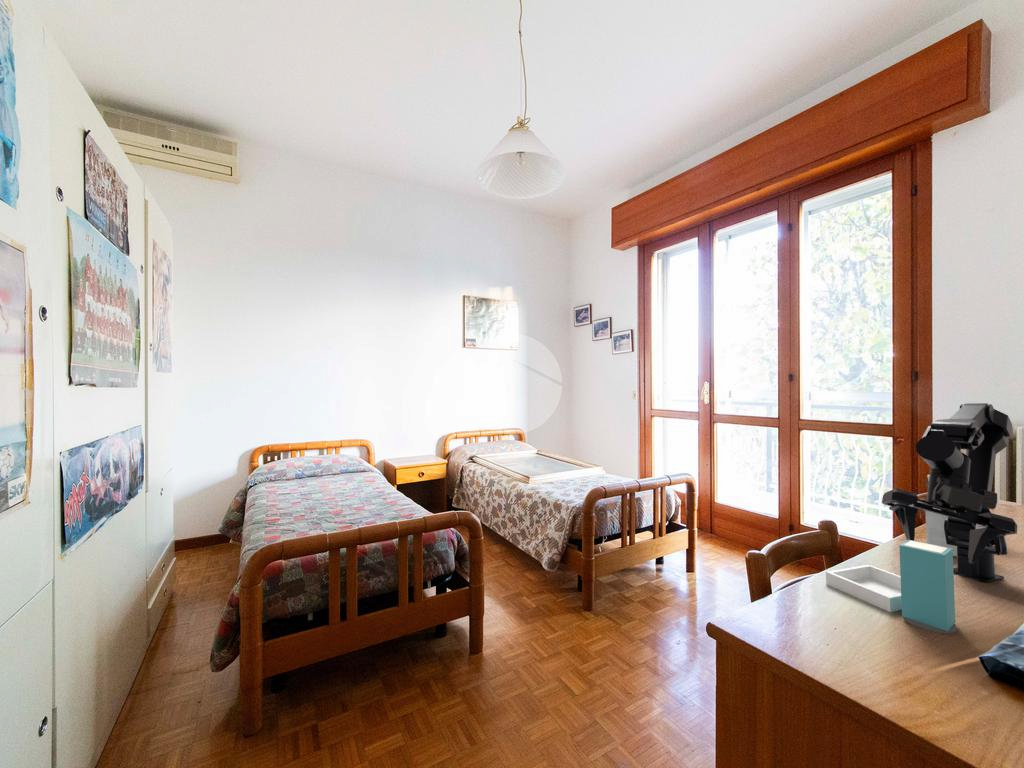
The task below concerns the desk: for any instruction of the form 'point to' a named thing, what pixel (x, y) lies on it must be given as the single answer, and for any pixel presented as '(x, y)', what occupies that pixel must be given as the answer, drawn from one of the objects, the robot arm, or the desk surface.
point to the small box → (937, 531)
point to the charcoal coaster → (930, 628)
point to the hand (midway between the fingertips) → (940, 553)
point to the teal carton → (927, 584)
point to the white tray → (869, 585)
